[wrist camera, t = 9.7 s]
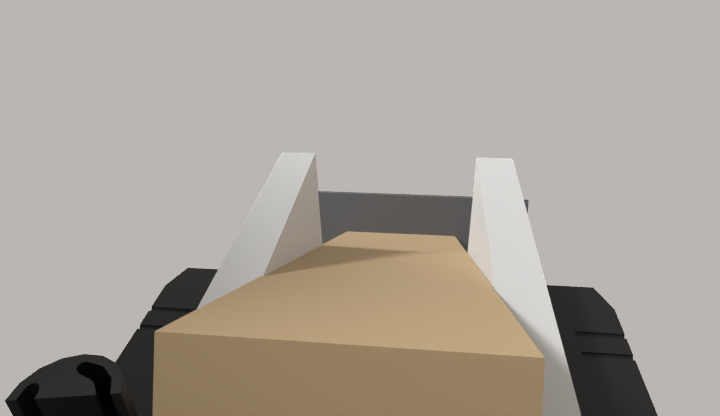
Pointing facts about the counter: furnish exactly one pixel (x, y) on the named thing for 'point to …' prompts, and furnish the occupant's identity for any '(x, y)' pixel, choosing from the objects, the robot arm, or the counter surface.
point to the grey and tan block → (358, 326)
